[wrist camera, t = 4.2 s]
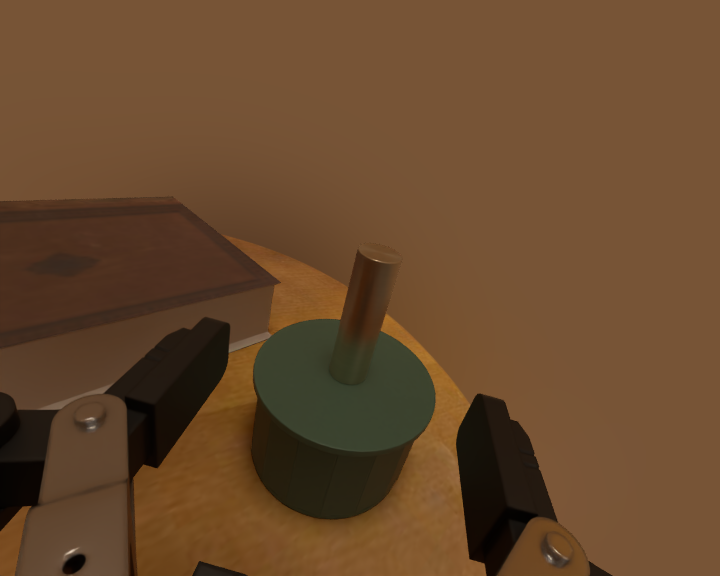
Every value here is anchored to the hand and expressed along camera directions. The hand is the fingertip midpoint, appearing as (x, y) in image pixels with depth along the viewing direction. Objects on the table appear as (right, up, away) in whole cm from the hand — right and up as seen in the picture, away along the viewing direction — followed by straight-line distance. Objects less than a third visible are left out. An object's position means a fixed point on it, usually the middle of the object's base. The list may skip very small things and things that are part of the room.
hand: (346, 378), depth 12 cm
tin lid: (-1, -3, +14) cm, 14 cm away
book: (-27, 0, +23) cm, 35 cm away
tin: (-2, -9, +17) cm, 19 cm away
